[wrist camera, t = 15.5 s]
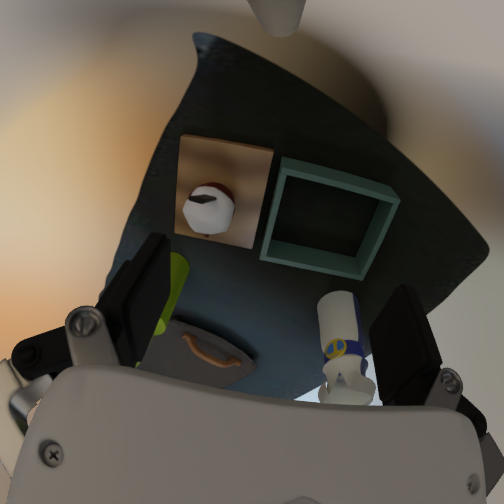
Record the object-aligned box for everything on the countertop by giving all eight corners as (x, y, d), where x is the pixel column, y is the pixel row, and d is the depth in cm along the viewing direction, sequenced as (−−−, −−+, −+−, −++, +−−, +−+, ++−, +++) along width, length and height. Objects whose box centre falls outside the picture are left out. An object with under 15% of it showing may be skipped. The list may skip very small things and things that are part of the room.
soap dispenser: (161, 241, 46) (107, 336, 30) (195, 265, 48) (156, 365, 32) (147, 262, 49) (97, 352, 33) (179, 283, 51) (141, 378, 35)
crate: (282, 156, 36) (281, 167, 32) (390, 186, 36) (400, 199, 33) (261, 241, 44) (259, 259, 40) (357, 262, 44) (362, 280, 41)
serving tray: (189, 399, 80) (185, 416, 75) (122, 365, 74) (114, 382, 69) (269, 353, 60) (267, 376, 55) (175, 300, 54) (165, 324, 49)
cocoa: (219, 230, 42) (198, 286, 32) (182, 207, 40) (149, 257, 31) (256, 180, 37) (244, 227, 27) (216, 154, 35) (187, 191, 26)
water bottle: (304, 302, 50) (304, 438, 30) (348, 282, 47) (369, 423, 27) (326, 327, 54) (331, 451, 34) (366, 309, 50) (387, 437, 30)
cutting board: (184, 133, 35) (180, 136, 34) (274, 149, 36) (273, 152, 34) (177, 228, 44) (174, 233, 43) (253, 243, 44) (252, 249, 43)
